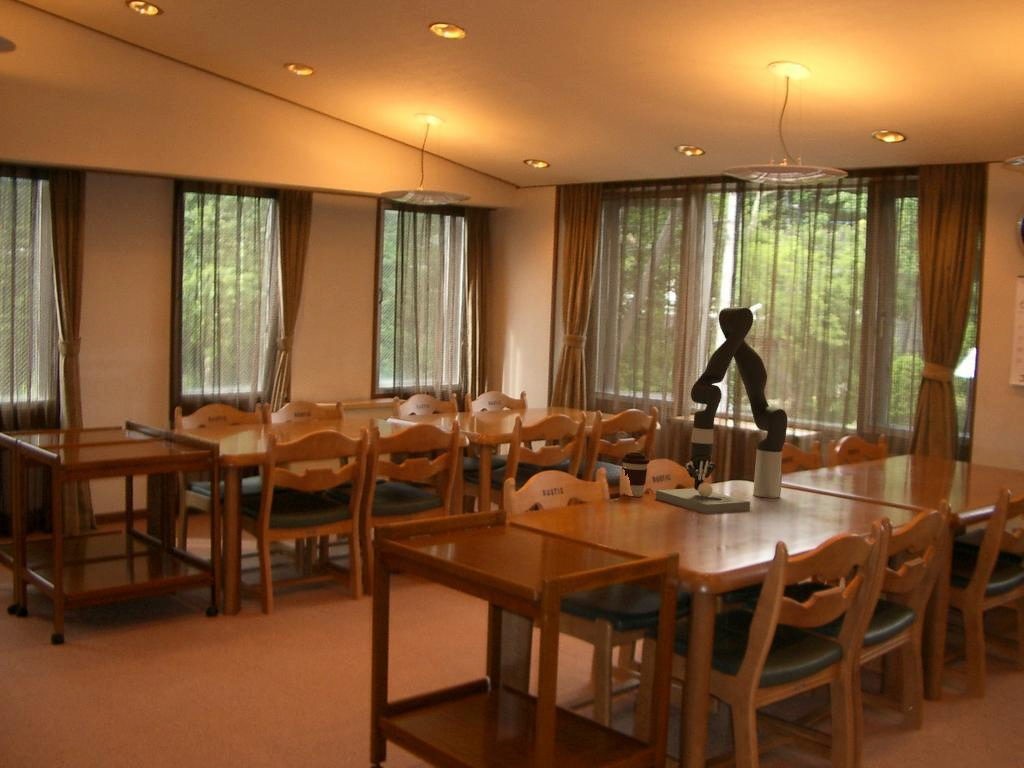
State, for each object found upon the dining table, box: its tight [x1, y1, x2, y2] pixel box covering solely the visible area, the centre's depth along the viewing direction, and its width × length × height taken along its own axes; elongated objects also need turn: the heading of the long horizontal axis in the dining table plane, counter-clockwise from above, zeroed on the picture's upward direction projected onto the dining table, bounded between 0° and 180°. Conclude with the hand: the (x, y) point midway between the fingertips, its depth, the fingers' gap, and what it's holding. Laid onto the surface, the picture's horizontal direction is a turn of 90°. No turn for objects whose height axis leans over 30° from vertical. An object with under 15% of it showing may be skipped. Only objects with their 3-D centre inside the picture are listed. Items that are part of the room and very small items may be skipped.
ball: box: [698, 481, 713, 497], centre depth 361 cm, size 5×5×5 cm
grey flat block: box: [655, 488, 751, 514], centre depth 363 cm, size 20×26×3 cm
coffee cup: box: [620, 452, 650, 498], centre depth 373 cm, size 10×10×15 cm
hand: (698, 490), depth 364 cm, fingers closed
